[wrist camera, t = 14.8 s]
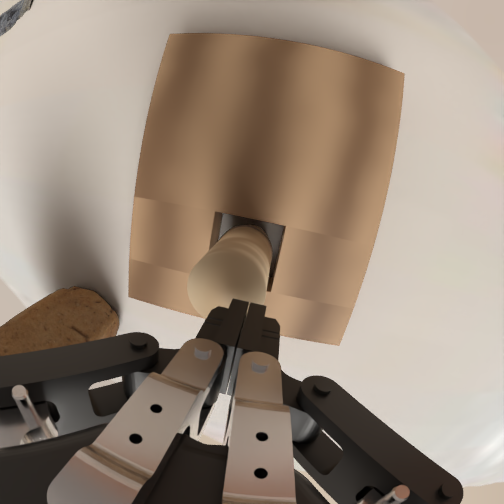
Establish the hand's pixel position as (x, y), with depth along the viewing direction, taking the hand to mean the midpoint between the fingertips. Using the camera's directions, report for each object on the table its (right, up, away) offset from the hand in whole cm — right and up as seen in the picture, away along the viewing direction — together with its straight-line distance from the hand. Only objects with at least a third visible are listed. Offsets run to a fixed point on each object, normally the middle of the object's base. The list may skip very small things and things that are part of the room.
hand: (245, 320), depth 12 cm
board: (+1, +8, +9) cm, 12 cm away
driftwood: (-43, +42, +6) cm, 61 cm away
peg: (0, +4, +11) cm, 11 cm away
